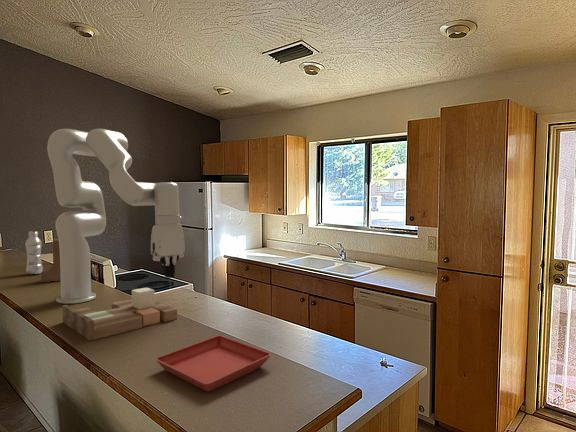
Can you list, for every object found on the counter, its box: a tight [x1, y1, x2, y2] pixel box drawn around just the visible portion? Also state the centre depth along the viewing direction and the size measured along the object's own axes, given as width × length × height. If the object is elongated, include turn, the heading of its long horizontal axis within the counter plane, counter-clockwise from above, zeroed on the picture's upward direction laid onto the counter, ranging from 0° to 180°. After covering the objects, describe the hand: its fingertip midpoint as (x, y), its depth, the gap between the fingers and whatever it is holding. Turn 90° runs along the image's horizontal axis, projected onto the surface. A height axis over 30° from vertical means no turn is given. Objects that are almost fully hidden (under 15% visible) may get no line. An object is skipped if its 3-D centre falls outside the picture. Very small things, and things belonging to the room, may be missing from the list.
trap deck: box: [61, 298, 178, 341], centre depth 119 cm, size 21×25×5 cm
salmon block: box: [136, 308, 161, 327], centre depth 118 cm, size 5×5×4 cm
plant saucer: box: [155, 335, 272, 392], centre depth 86 cm, size 18×18×3 cm
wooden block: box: [40, 238, 61, 283], centre depth 173 cm, size 9×4×18 cm, turn 116°
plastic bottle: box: [24, 231, 44, 275], centre depth 186 cm, size 6×7×20 cm
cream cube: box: [131, 287, 156, 309], centre depth 124 cm, size 5×5×5 cm
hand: (169, 277), depth 129 cm, fingers closed
